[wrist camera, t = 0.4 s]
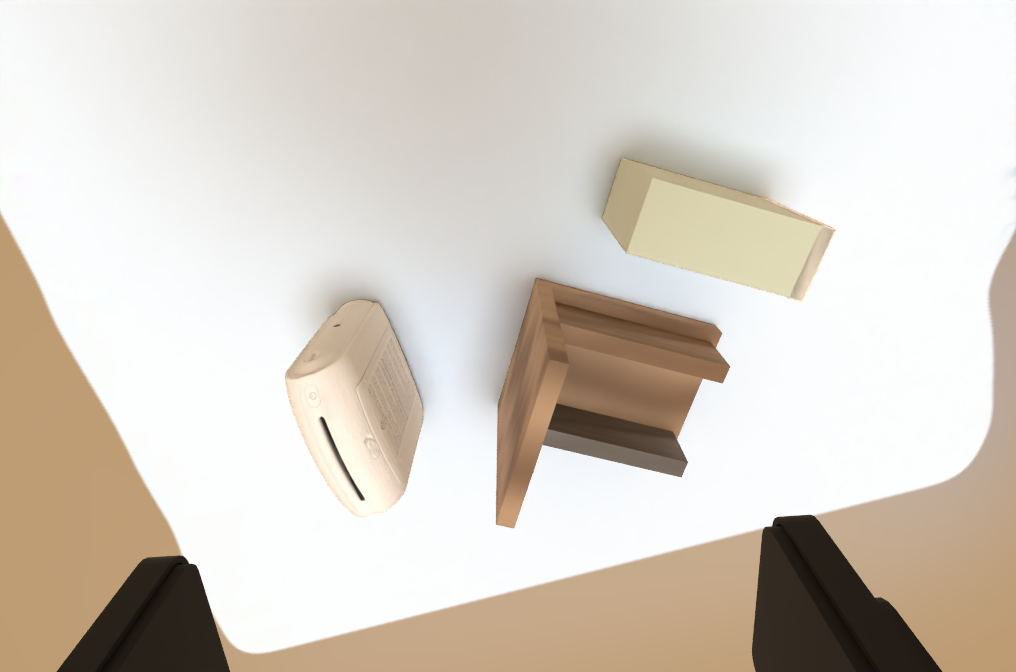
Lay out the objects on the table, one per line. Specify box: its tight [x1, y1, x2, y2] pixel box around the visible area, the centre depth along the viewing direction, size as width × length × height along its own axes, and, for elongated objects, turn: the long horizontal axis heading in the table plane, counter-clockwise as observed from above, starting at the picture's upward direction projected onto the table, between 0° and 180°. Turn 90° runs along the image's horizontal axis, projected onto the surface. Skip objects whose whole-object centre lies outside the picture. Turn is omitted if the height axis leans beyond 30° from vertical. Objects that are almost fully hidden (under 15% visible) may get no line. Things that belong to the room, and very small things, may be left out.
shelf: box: [496, 278, 730, 528], centre depth 39 cm, size 10×13×14 cm
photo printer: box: [285, 300, 424, 517], centre depth 40 cm, size 10×4×12 cm, turn 18°
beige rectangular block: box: [602, 158, 836, 302], centre depth 37 cm, size 4×10×9 cm, turn 75°
